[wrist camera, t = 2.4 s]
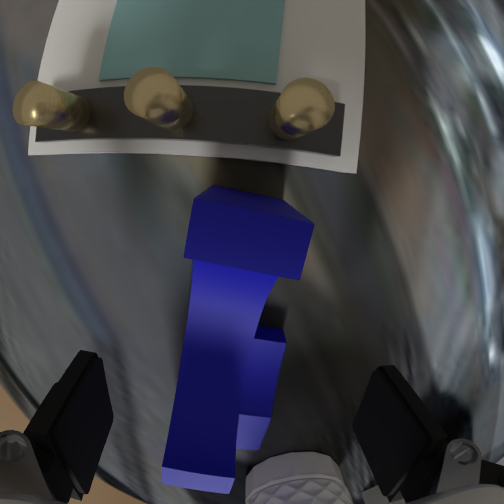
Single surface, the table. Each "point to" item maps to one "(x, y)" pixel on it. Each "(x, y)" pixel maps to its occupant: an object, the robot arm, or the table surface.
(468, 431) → the table surface
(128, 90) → the coat peg rack
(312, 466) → the white cup
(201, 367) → the blue curved stepped piece
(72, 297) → the table surface
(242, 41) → the board
